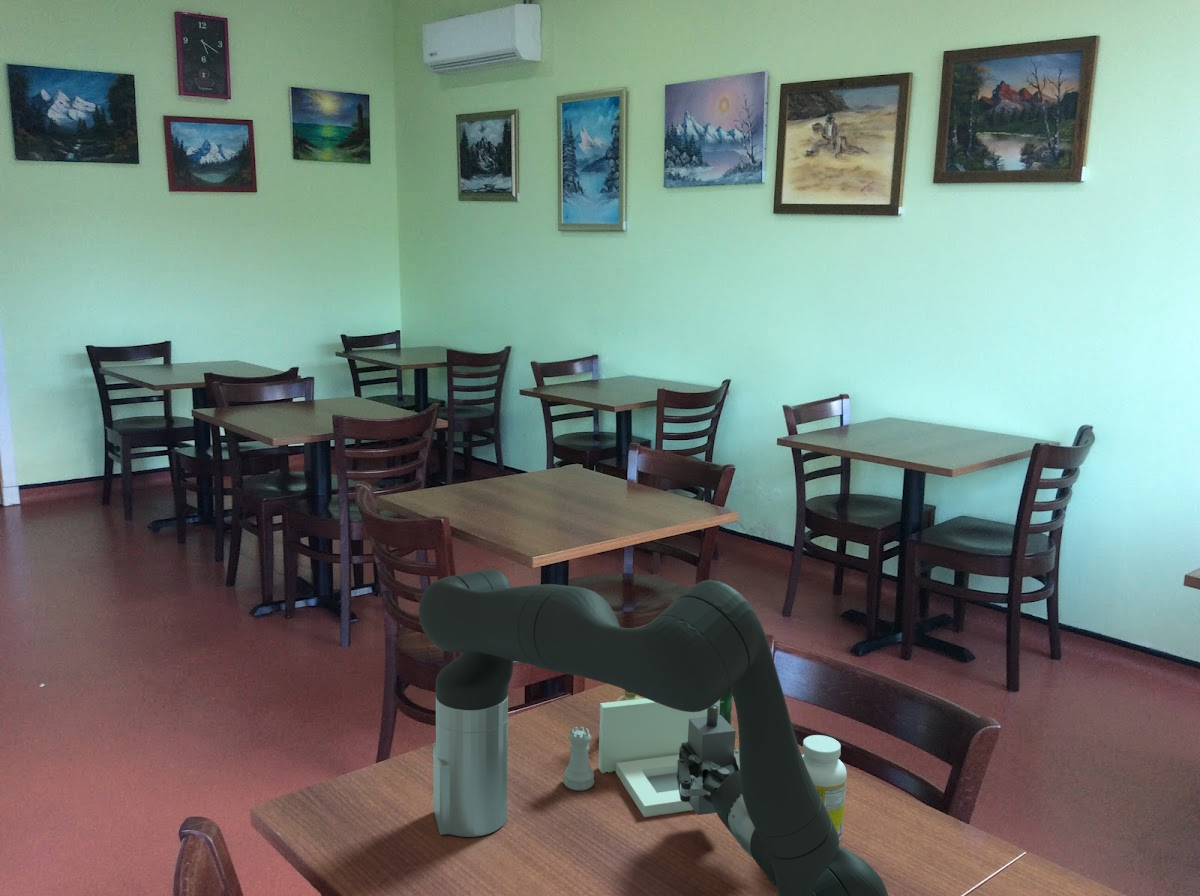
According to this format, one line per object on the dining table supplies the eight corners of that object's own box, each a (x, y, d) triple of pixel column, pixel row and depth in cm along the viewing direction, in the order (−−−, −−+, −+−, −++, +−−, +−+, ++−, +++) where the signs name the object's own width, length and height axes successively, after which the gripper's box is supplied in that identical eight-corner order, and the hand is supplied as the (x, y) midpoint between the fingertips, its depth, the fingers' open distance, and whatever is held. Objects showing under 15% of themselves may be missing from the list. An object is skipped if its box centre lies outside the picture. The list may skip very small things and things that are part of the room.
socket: (629, 819, 131) (632, 748, 129) (598, 767, 144) (600, 703, 142) (754, 800, 136) (758, 732, 135) (712, 753, 150) (715, 690, 148)
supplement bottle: (778, 827, 130) (784, 735, 128) (821, 817, 133) (827, 727, 130) (808, 855, 124) (815, 759, 122) (852, 844, 127) (859, 750, 124)
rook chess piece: (557, 788, 138) (558, 734, 137) (570, 773, 143) (571, 721, 141) (587, 795, 137) (588, 740, 135) (599, 780, 141) (600, 727, 139)
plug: (698, 815, 126) (704, 717, 123) (684, 796, 130) (689, 701, 128) (731, 811, 127) (737, 713, 125) (716, 792, 131) (722, 697, 129)
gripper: (817, 779, 116) (752, 714, 132) (704, 794, 111) (651, 725, 127) (813, 837, 117) (749, 766, 133) (700, 855, 113) (648, 779, 129)
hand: (701, 747), depth 130 cm, fingers closed on plug, 4 cm apart
